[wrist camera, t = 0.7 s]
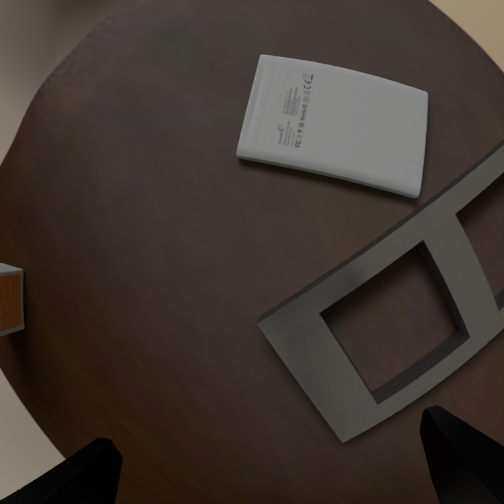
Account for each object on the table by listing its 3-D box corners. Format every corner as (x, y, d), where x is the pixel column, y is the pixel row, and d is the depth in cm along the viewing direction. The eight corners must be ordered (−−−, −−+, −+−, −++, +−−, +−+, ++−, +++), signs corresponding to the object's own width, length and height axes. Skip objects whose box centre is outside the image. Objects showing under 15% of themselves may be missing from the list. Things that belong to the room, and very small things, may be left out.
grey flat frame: (563, 240, 17) (576, 241, 15) (339, 428, 21) (342, 443, 19) (514, 130, 18) (527, 124, 16) (260, 315, 21) (256, 323, 19)
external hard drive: (411, 200, 20) (238, 160, 21) (420, 99, 20) (262, 62, 21) (419, 197, 18) (234, 154, 20) (428, 90, 18) (260, 51, 19)
